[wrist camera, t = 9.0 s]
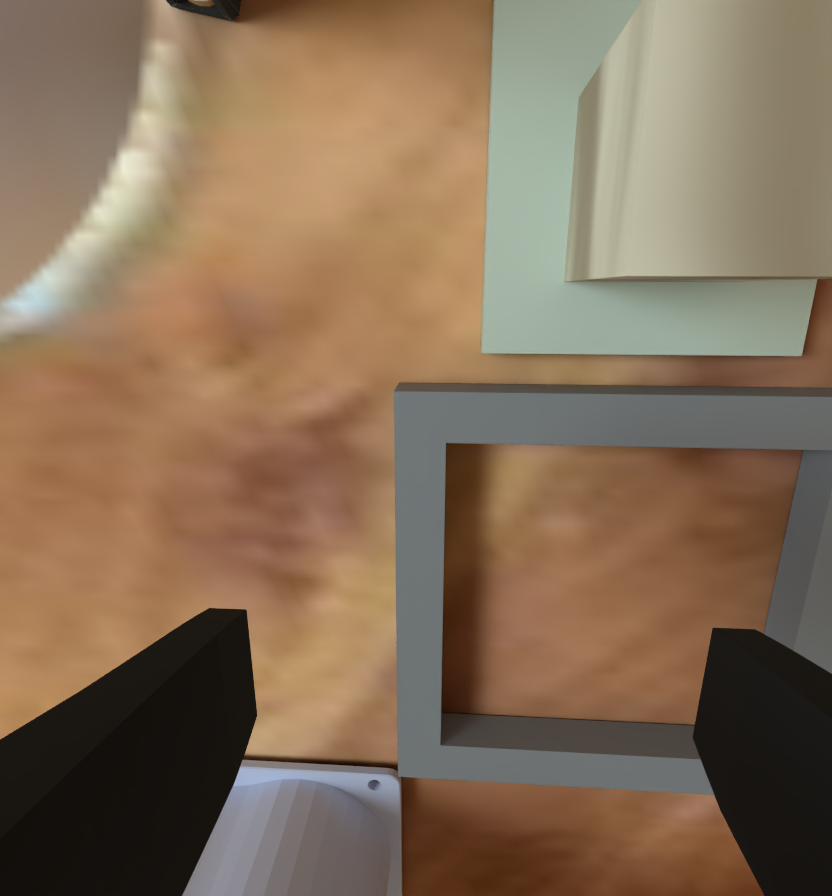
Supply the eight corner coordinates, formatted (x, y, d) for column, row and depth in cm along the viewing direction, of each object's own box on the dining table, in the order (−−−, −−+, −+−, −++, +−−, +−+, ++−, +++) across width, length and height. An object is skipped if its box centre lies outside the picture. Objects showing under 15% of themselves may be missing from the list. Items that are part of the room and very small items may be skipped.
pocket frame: (401, 742, 21) (398, 776, 19) (399, 382, 17) (394, 391, 15) (778, 763, 20) (804, 799, 18) (869, 388, 16) (911, 398, 14)
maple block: (563, 281, 15) (625, 276, 10) (578, 97, 14) (658, -26, 8) (729, 282, 15) (886, 276, 9) (760, 94, 13) (962, -35, 8)
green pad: (480, 351, 16) (481, 353, 16) (493, -4, 14) (495, -17, 13) (789, 353, 16) (801, 355, 15) (862, -17, 13) (880, -30, 12)
